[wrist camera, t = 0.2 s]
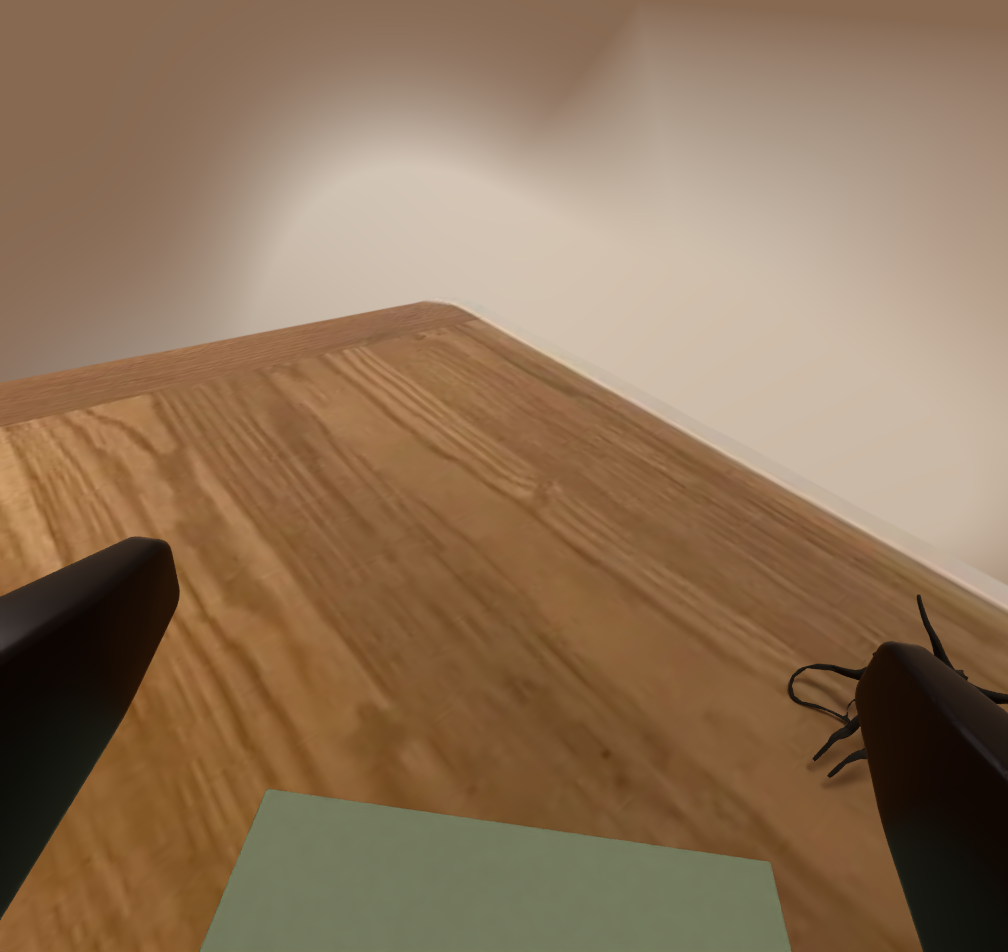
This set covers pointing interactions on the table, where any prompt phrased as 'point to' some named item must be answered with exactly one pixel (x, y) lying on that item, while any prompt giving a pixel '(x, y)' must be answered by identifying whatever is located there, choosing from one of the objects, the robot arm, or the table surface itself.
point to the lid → (478, 888)
